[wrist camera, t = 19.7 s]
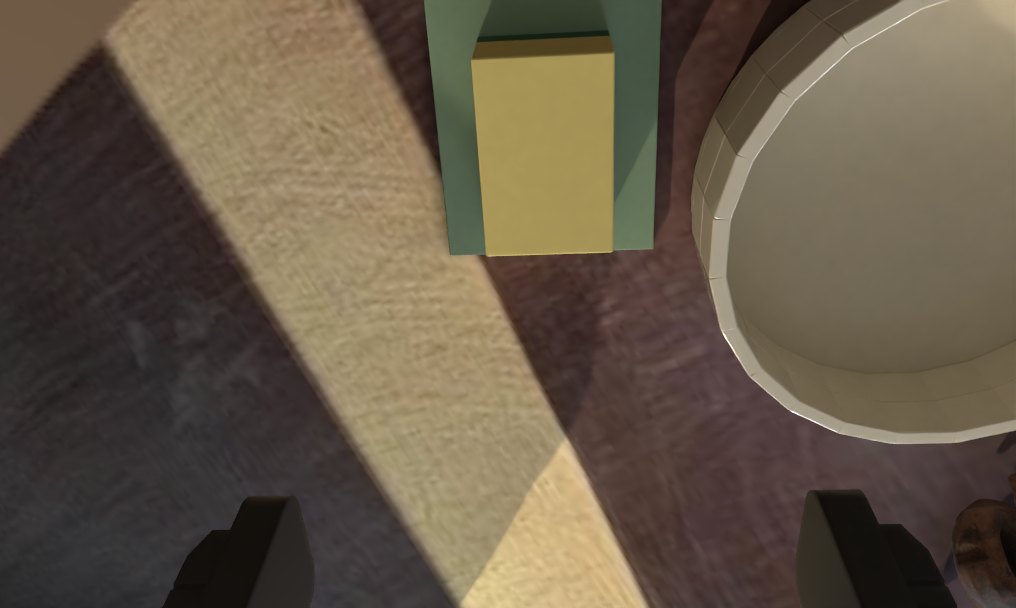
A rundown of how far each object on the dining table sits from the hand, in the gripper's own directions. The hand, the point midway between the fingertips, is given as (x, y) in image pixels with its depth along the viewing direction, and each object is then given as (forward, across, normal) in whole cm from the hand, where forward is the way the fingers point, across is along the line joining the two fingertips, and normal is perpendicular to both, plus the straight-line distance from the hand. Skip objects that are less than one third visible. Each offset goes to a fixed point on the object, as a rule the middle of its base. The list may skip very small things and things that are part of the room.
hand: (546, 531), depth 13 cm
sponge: (+20, 0, 0) cm, 20 cm away
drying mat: (+20, 0, 0) cm, 20 cm away
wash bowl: (+20, -14, +3) cm, 25 cm away
